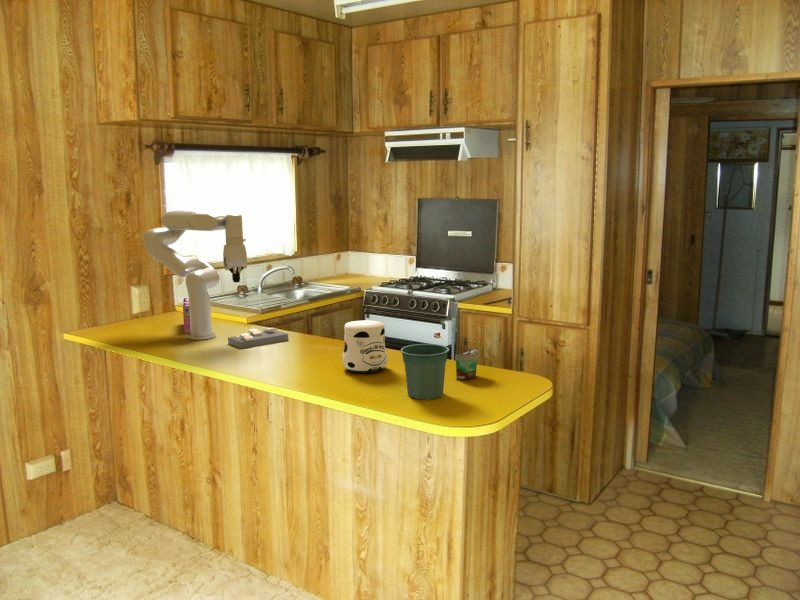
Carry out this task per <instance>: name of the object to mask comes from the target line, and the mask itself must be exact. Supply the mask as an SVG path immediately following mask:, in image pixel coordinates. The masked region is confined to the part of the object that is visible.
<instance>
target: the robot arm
mask: <svg viewBox="0 0 800 600" xmlns="http://www.w3.org/2000/svg"><path fill="white" fill-rule="evenodd" d="M161 224H162V225H163V226H161V227H153V228H150V229H148V230H146V231H144V234H143V236H142V243H143V247H144V250H146V252H147V254H149V256H151V257H152V258H153V259H155V260H156V261H158V262H159V263H161V264H162V265H163V266H164V267H165V268H167V270H169V271H170V272H171V273H172V274H174V275H175V276H177V277H180V278H185V286H186V291H187V294H188V295H187V297H188V299H189V310H190V326H191V328H190V330H191V333H188V334H187V339H189V340H192V341H195V340H196V341H199V340H200V341H201V340H203V341H204V340H209V339H213V338H216V333H215V332H213V327H212V310H211V298H210V294H209V292H208V290H207V289H211V288H215V287H216V286H218V284H219V283H220V281H221V280H220V279H221V278H220V277H221V276H220V274H219V272H218V271H217V269H215V268H214V267H213V266H211V265H210V264H209V263H207V262H206V261H205V260H204V259H203V258H201V257H199V256H197V255H193V254H191V255H182V254H180V253H178V252H177V251H176V250H175V249H173V248H171V247H170V246H168V245H173V244H175V243H176V242H177V241H178V240H179V239H180V238H181V237H182V236H183V235H184V234H185V232H186V231H195V232H196V231H198V232H199V231H201V232H213V231H221V230H224V231H225V244H223V250H222V251H223V252H222V265H223V266H224V267H223V268H224V270H225V271H229V272H230V273H231V274H232V275H231V276H232V282H233V283H235V284H236V283H240V281H241V273H242V271H243V270H244V269H247V268H248V255H247V249H246V245H245V242H246V238H245V237H244V231H243V217H242V214H241V213H228V212H227V213H226V212H214V213H196V212H195V211H185V210H171V211H167V212H164V213H163V215H162V217H161Z"/></svg>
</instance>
